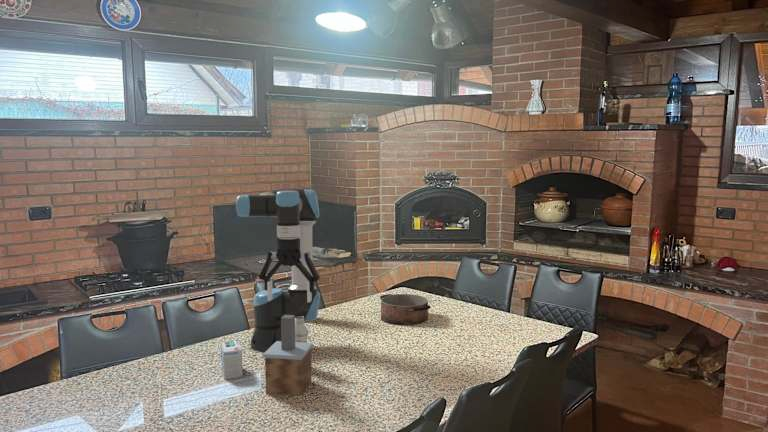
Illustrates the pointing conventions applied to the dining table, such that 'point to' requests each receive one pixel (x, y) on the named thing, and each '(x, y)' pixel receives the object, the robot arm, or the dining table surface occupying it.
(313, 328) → the dining table surface
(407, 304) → the cooking pot
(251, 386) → the dining table surface
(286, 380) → the crate
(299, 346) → the lid
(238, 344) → the light bulb box
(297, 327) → the plastic bottle
